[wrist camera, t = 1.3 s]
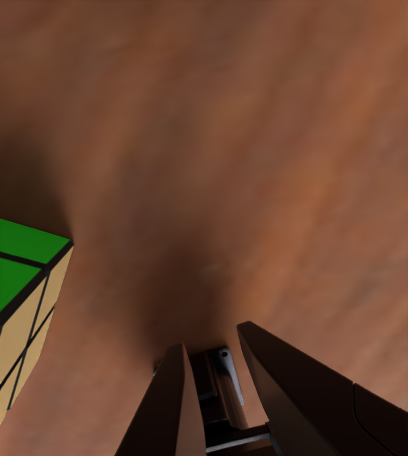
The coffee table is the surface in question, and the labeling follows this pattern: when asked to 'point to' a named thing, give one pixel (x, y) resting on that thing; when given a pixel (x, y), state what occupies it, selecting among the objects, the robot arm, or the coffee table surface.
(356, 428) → the robot arm
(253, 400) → the coffee table surface
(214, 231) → the coffee table surface
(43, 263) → the puzzle cube
